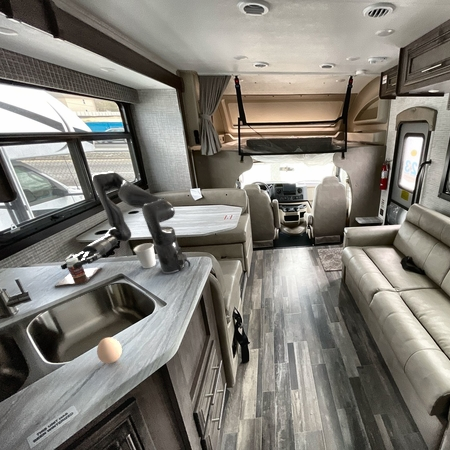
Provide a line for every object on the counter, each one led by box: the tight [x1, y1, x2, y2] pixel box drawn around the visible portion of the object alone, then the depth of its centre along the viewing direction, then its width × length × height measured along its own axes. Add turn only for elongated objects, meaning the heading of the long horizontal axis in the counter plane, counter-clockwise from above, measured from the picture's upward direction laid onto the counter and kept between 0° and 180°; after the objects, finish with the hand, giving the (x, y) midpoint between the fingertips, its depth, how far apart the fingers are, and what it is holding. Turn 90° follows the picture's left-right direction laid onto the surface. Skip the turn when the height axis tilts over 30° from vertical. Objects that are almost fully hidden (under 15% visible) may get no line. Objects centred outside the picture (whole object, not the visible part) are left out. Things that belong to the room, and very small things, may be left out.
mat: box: [53, 267, 103, 288], centre depth 110 cm, size 12×12×1 cm
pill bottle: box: [65, 257, 85, 278], centre depth 108 cm, size 5×5×8 cm
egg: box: [96, 337, 123, 364], centre depth 68 cm, size 5×5×8 cm
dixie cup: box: [133, 242, 157, 269], centre depth 117 cm, size 8×8×10 cm
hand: (68, 267), depth 105 cm, fingers closed on pill bottle, 4 cm apart
